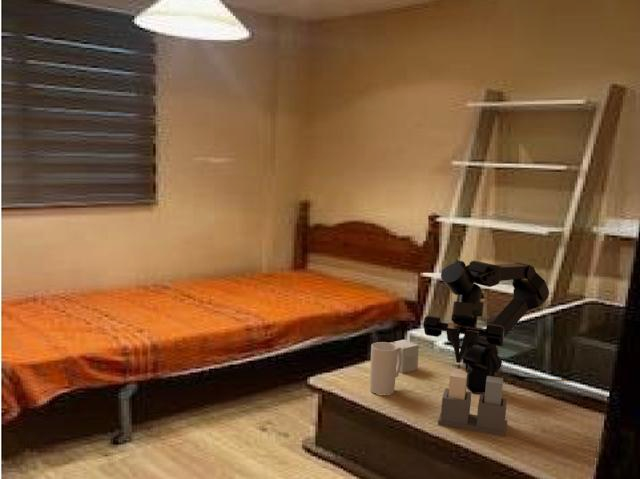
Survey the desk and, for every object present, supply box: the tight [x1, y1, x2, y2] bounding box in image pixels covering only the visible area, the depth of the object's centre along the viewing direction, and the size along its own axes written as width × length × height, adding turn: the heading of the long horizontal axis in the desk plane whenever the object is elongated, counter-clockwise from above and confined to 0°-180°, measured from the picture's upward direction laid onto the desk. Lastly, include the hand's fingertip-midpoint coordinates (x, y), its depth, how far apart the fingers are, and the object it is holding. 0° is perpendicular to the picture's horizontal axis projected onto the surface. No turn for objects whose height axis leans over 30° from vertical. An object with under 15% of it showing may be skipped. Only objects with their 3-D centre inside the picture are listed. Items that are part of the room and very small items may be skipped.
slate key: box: [484, 376, 504, 406], centre depth 141 cm, size 4×4×7 cm
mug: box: [369, 341, 402, 396], centre depth 161 cm, size 10×7×12 cm, turn 129°
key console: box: [437, 387, 508, 437], centre depth 143 cm, size 6×15×6 cm, turn 72°
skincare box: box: [389, 339, 420, 374], centre depth 177 cm, size 6×6×7 cm
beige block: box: [448, 370, 467, 400], centre depth 144 cm, size 4×4×7 cm
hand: (458, 362), depth 146 cm, fingers closed
